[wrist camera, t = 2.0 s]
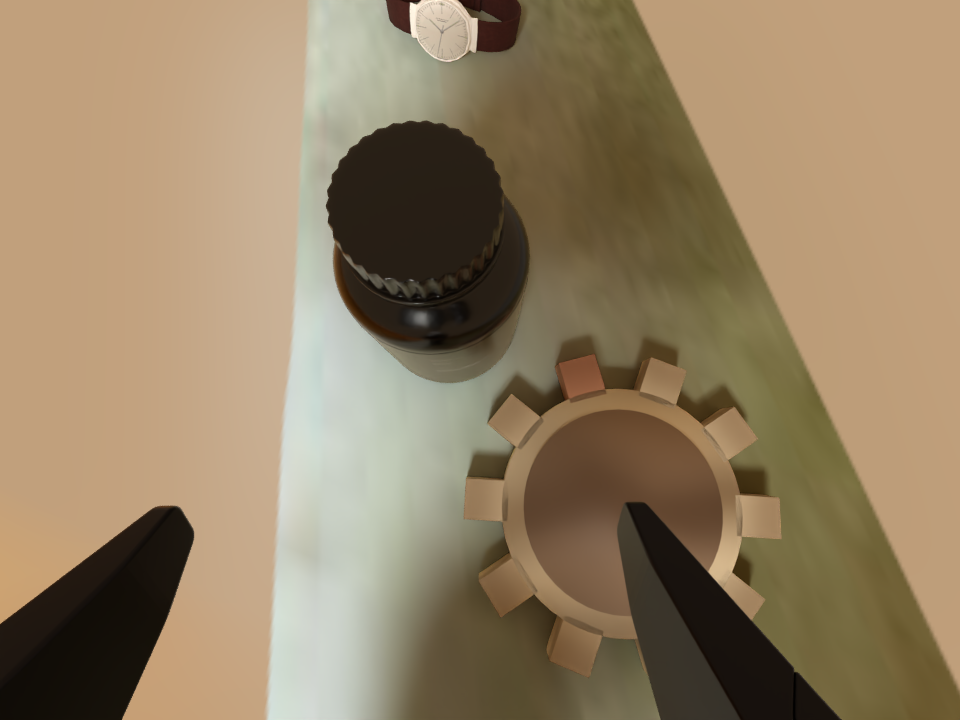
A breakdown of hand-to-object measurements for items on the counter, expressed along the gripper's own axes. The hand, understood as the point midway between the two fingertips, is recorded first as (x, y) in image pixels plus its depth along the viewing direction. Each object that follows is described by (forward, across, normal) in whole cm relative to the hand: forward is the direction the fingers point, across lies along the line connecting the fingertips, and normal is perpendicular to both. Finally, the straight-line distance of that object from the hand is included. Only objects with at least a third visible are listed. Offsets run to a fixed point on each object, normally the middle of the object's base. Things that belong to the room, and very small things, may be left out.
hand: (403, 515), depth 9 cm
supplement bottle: (+15, 0, +4) cm, 16 cm away
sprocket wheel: (+8, -8, +11) cm, 16 cm away
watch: (+28, 0, -8) cm, 29 cm away
